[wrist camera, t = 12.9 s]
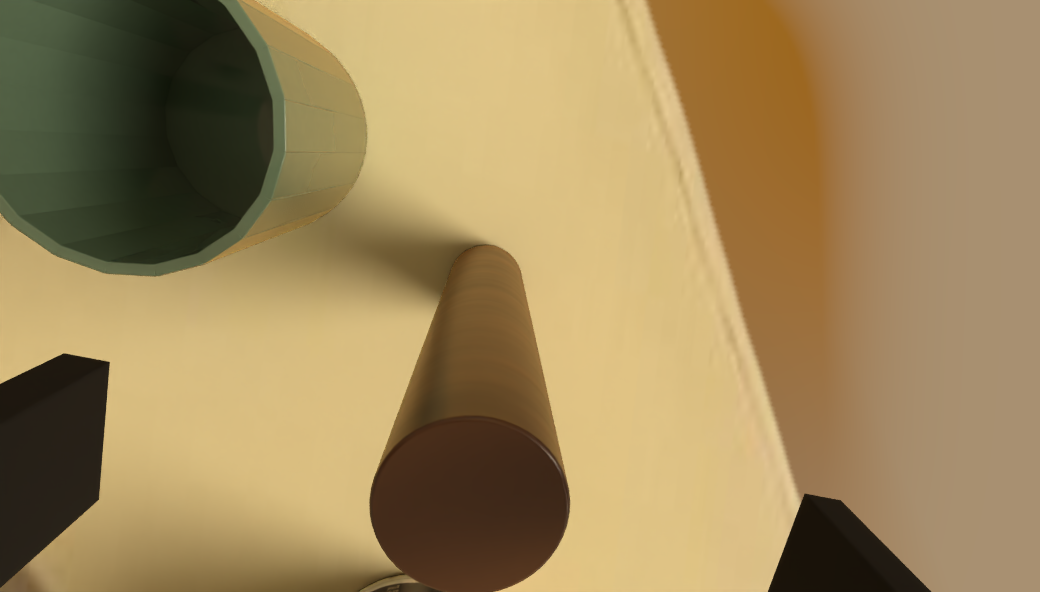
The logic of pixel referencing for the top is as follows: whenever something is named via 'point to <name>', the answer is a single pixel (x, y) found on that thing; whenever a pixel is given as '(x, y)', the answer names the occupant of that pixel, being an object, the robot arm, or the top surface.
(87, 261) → the tin
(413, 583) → the coffee can
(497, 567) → the stick
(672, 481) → the top surface
